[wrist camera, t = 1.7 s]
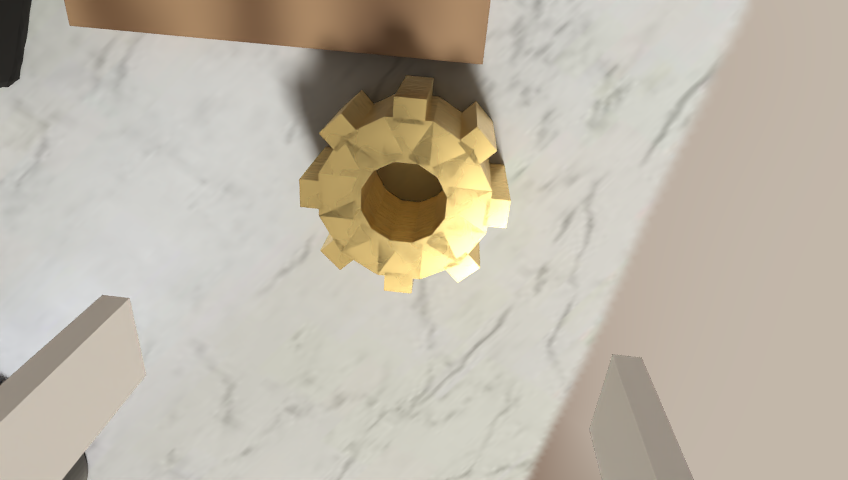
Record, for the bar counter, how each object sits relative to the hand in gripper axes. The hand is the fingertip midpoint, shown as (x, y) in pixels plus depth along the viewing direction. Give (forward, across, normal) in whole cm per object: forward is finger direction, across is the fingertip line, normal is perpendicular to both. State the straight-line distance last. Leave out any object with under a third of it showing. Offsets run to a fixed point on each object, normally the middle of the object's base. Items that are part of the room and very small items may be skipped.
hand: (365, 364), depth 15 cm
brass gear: (+16, 0, 0) cm, 16 cm away
